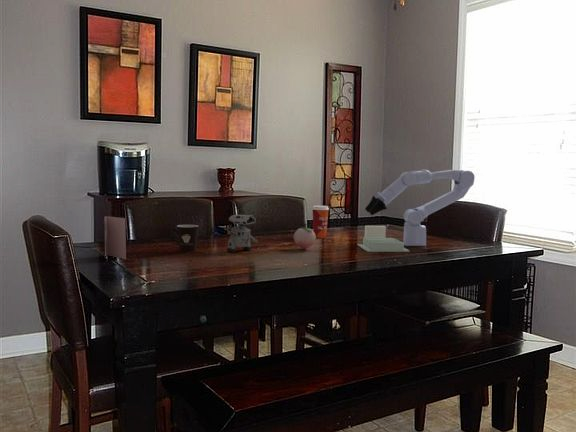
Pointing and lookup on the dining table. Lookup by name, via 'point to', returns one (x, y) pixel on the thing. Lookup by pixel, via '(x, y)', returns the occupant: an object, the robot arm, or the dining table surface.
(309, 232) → the decorative fruit
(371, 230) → the tile plate
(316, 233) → the coffee cup
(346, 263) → the dining table surface
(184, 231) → the coffee mug
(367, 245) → the dish rack
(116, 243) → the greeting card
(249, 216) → the figurine
